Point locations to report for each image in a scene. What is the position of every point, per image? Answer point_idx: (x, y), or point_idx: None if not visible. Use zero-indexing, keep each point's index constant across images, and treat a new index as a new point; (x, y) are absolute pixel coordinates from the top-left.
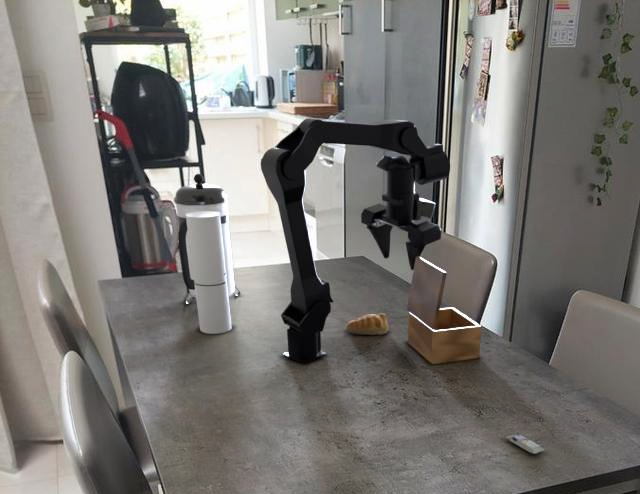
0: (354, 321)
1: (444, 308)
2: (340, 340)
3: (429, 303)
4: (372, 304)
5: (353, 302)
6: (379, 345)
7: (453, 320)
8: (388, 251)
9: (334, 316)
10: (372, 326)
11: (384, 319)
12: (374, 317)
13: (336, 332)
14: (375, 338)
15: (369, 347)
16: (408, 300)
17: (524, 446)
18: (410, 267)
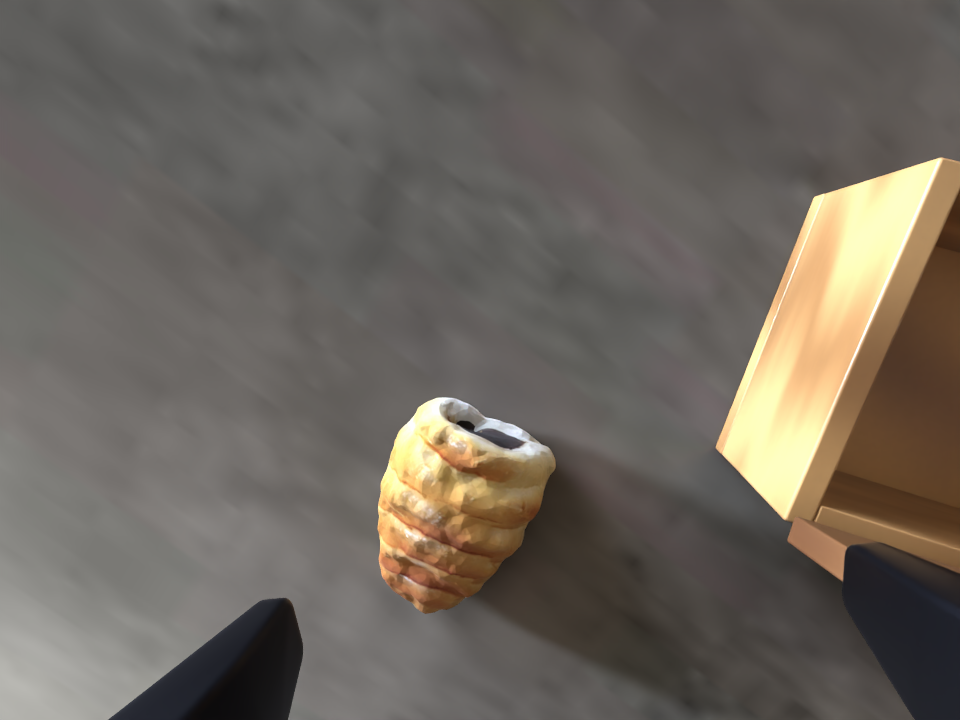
0: (431, 592)
1: (914, 243)
2: (489, 663)
3: None
4: (117, 213)
5: (47, 278)
6: (657, 576)
7: (951, 219)
8: (251, 683)
9: (192, 485)
10: (519, 539)
11: (521, 473)
12: (482, 517)
13: (389, 613)
14: (564, 530)
15: (648, 626)
16: (828, 570)
17: None
18: (874, 647)
